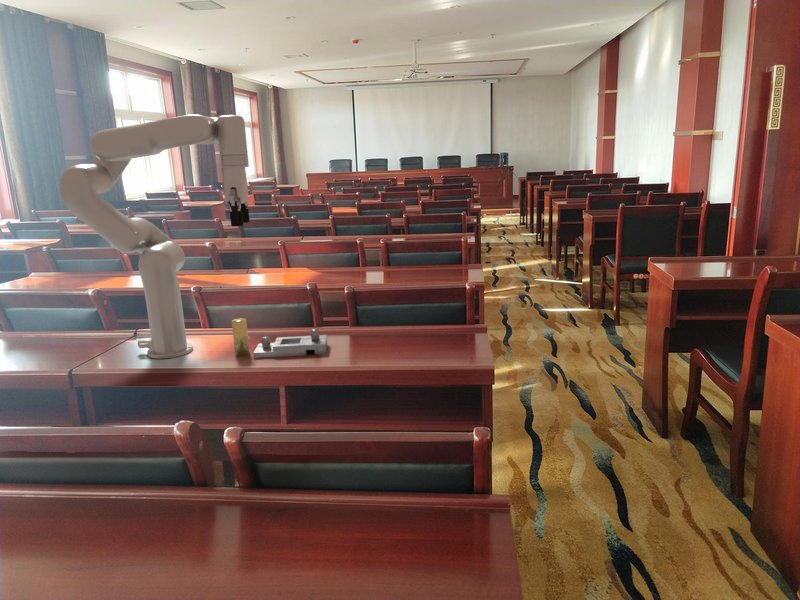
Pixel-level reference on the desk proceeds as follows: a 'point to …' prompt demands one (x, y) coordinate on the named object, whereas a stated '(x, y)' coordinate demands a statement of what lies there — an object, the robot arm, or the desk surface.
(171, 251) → the robot arm
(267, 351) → the slotted link plate
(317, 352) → the upper chain link
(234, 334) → the brass pin
